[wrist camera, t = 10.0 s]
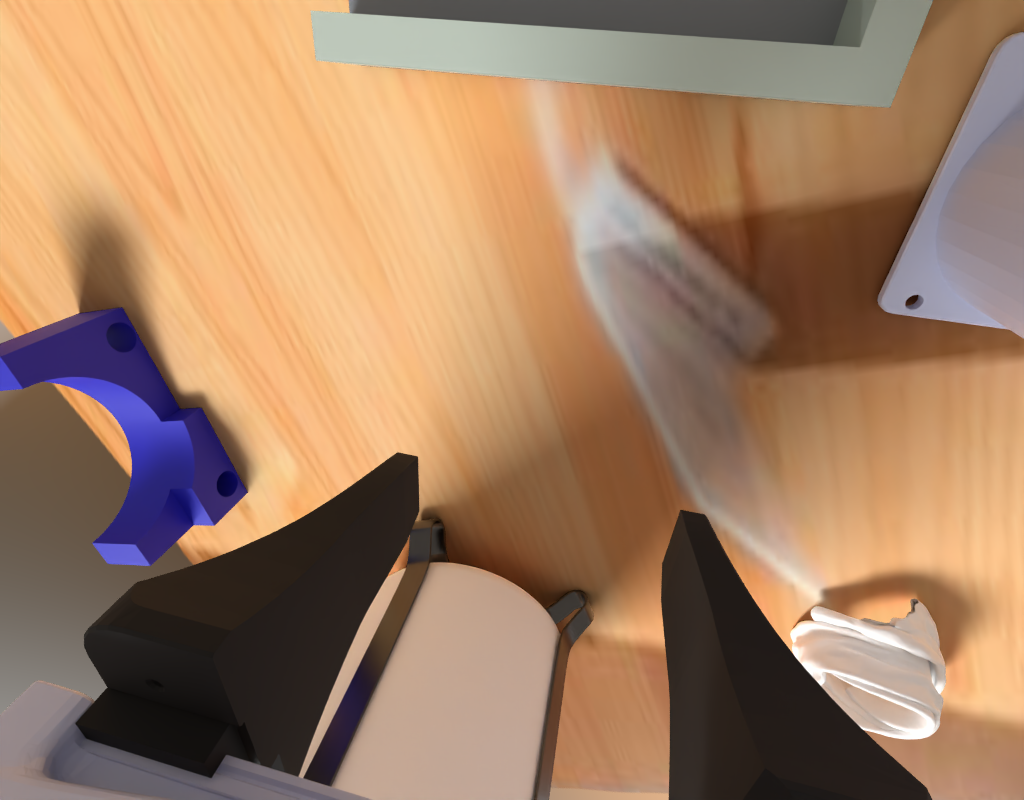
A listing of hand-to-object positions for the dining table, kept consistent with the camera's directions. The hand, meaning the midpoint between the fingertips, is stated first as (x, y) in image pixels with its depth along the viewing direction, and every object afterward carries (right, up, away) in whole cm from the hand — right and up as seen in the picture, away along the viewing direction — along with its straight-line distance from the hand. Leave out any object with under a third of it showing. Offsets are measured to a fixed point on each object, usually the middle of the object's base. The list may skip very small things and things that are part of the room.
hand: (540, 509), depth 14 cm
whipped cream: (+17, -9, +13) cm, 23 cm away
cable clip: (-20, +3, +15) cm, 25 cm away
